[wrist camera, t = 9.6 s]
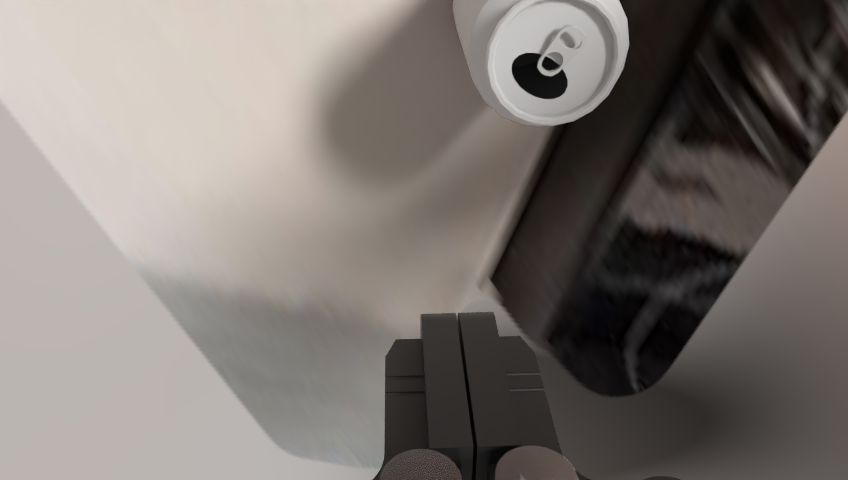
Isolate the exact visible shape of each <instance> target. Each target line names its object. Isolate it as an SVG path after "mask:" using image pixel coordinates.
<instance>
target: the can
mask: <svg viewBox="0 0 848 480" xmlns="http://www.w3.org/2000/svg"><path fill="white" fill-rule="evenodd" d="M452 9H453V14H454V19H455V24H456V29H457V32H458V35H459V39H460V42H461V45H462V48H463V52H464V55H465V58H466V61H467V65H468V68H469V71H470V74H471V78H472V81H473V83H474V85H475V86H476V88H477V90H478V91H479V93H480V95H481V97H482V98H483V100H484V102H485V103H487V104H488V105H489V106H490V107H491V108H492V109H494V110H495V111H496V112H497V113H498V114H500V115H501V116H502V117H504V118H507V119H509V120H512V121H514V122H517V123H519V124H522V125H530V126H545V127H547V126H555V125H559V124H564V123H568V122H572V121H575V120H577V119H579V118H580V117H582V116H584V115H586V114H588V113H589V112H591V111H593V110H594V109H595V108H596V107H597V106H598V105H599V104H600V103H601V102H602V101H603V100H604V99H605V98H606V97H607V96H608V95H609V94H610V92H611V90H612V88H613V87H614V85H615V83H616V81H617V80H618V78H619V76H620V74H621V72H622V71H623V68H624V64H625V60H626V56H627V52H628V48H629V35H628V21H627V17H626V15H625V13H624V11H623V8H622V6H621V4H620V1H619V0H453V8H452Z"/></svg>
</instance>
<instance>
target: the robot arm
mask: <svg viewBox="0 0 848 480" xmlns="http://www.w3.org/2000/svg"><path fill="white" fill-rule="evenodd" d="M373 480H590V479H588V478H586V477H584V476H583V475H581V474H580V473H578V472H577V471H576V470H575V469H574V468H573V466H572V465H571V463H570V462H569V461H568V460H567V459H566V458H565V457H564V456H563V455H562V452H561V449H560V446H559V443H558V439H557V435H556V431H555V427H554V423H553V420H552V416H551V412H550V408H549V405H548V401H547V397H546V394H545V392H544V386H543V382H542V378H541V376H540V371H539V367H538V363H537V360H536V356H535V353H534V351H533V350H532V349H531V348H530V347H529V346H528V345H527V344H526V342H525V341H524V340H523V339H522V338H521V337H520V336H510V337H509V336H508V337H507V336H506V337H499V335H498V330H497V325H496V320H495V316H494V313H493V312H476V313H458V317H456V313H442V314H421V339H399V340H395V342H394V344H393V345H392V347H391V349H390V350H389V352H388V354H387V355H386V361H385V455H384V461H383V465H382V467H381V469H380V471H379V472H378V474H377V475H376V477H375V478H374V479H373ZM644 480H680V479H677V478H673V477H666V476H656V477H650V478H647V479H644Z"/></svg>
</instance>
